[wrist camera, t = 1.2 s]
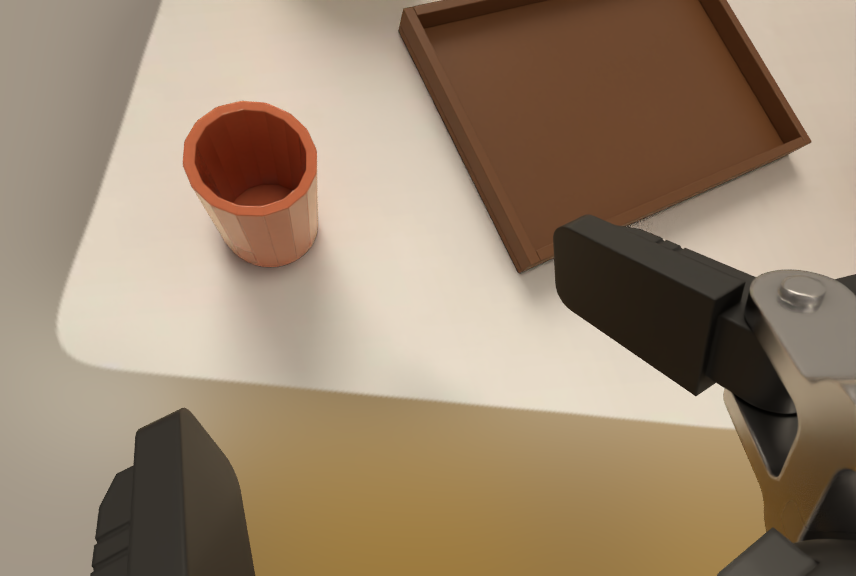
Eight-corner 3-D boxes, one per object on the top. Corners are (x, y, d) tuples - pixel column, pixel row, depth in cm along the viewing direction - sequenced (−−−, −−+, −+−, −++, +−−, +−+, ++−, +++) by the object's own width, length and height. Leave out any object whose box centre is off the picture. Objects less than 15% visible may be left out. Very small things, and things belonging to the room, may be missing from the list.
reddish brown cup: (242, 281, 28) (210, 233, 20) (207, 198, 29) (163, 119, 20) (331, 248, 30) (336, 192, 22) (297, 170, 30) (289, 88, 22)
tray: (518, 273, 32) (531, 265, 30) (398, 30, 35) (402, 8, 33) (788, 154, 41) (812, 141, 39) (677, -33, 43) (694, -54, 41)
